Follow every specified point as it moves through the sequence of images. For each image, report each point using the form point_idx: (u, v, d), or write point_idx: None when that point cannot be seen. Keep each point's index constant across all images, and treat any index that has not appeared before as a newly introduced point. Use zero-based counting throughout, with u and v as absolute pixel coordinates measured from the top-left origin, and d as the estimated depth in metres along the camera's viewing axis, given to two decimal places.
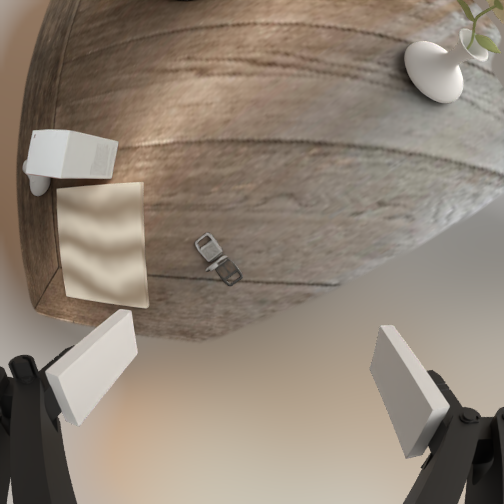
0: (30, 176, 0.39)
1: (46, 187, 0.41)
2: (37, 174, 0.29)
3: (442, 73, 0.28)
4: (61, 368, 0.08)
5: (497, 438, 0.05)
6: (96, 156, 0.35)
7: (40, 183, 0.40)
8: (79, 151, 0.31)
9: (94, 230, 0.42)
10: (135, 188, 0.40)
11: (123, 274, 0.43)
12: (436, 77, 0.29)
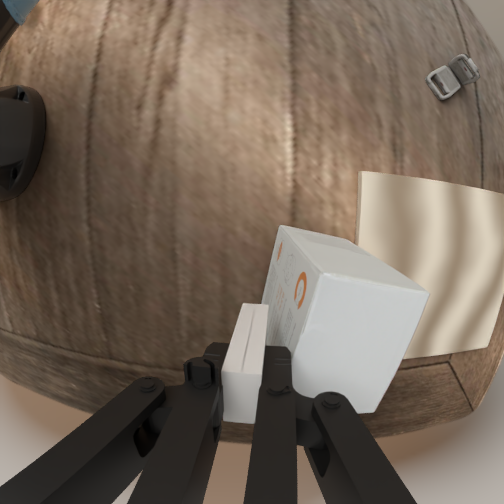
0: None
1: None
2: (393, 375, 0.13)
3: None
4: (237, 364, 0.10)
5: (324, 430, 0.07)
6: (332, 245, 0.19)
7: None
8: (349, 261, 0.15)
9: (426, 277, 0.23)
10: (372, 181, 0.22)
11: (485, 227, 0.22)
12: None
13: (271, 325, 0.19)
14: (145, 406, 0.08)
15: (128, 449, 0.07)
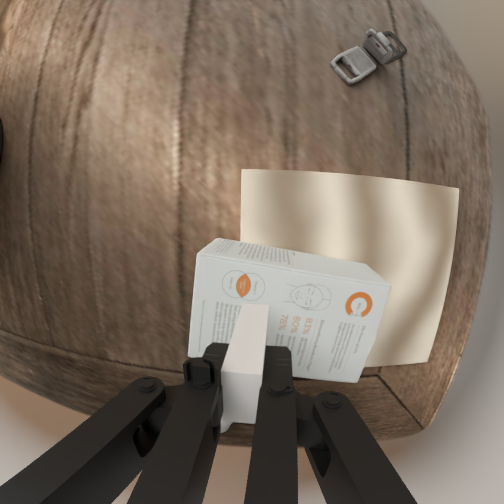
0: None
1: None
2: None
3: None
4: (237, 364, 0.10)
5: (324, 430, 0.07)
6: (283, 256, 0.20)
7: None
8: (343, 268, 0.20)
9: None
10: (252, 179, 0.23)
11: (409, 224, 0.22)
12: None
13: None
14: (145, 406, 0.08)
15: (128, 449, 0.07)
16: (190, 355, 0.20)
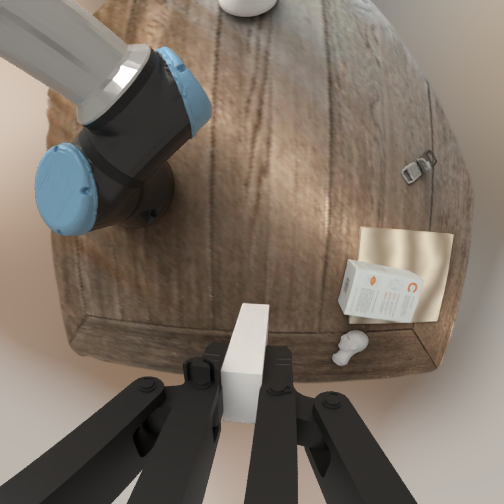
0: (351, 352, 0.50)
1: (359, 331, 0.51)
2: None
3: None
4: (237, 364, 0.10)
5: (324, 430, 0.07)
6: (382, 268, 0.45)
7: (357, 337, 0.49)
8: (404, 273, 0.44)
9: None
10: (366, 232, 0.47)
11: (429, 252, 0.46)
12: None
13: (384, 308, 0.43)
14: (145, 406, 0.08)
15: (128, 449, 0.07)
16: (345, 313, 0.44)
